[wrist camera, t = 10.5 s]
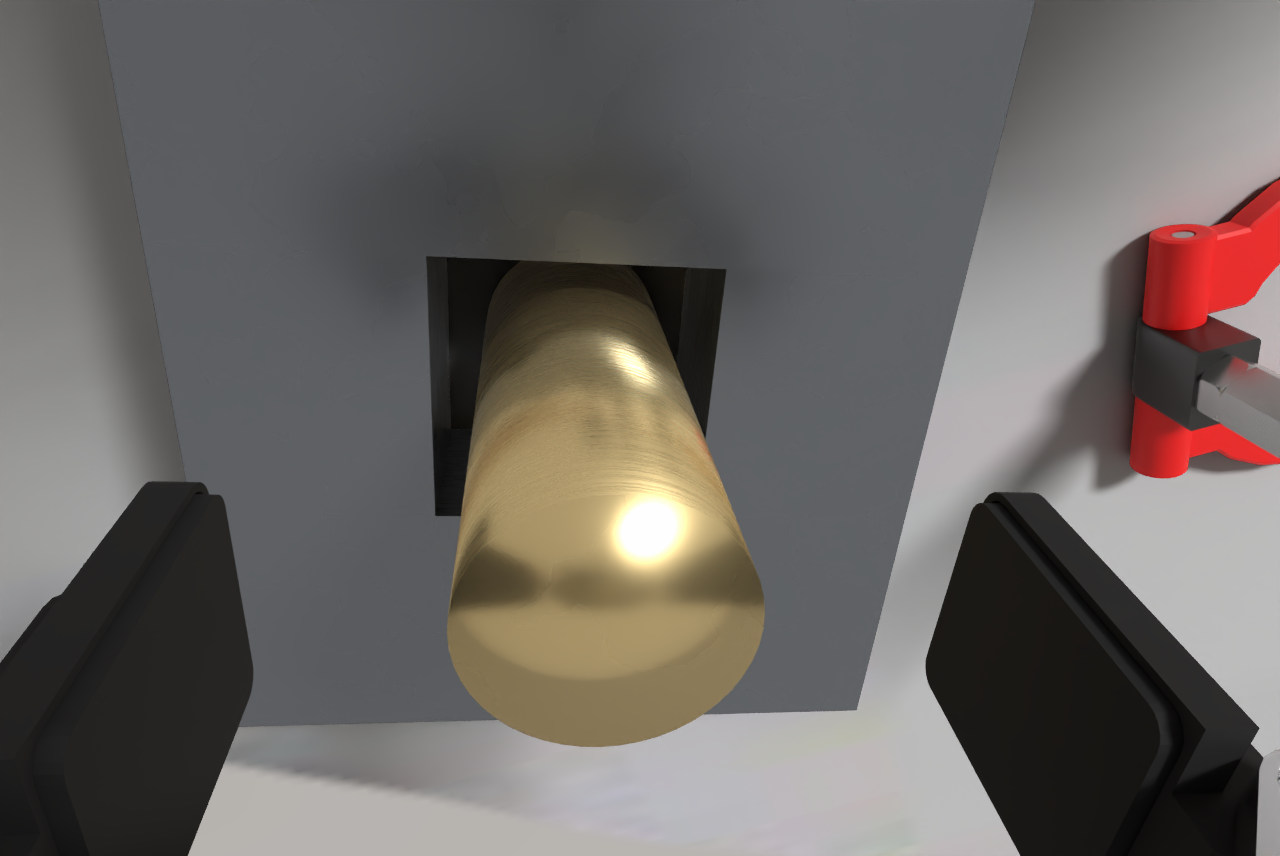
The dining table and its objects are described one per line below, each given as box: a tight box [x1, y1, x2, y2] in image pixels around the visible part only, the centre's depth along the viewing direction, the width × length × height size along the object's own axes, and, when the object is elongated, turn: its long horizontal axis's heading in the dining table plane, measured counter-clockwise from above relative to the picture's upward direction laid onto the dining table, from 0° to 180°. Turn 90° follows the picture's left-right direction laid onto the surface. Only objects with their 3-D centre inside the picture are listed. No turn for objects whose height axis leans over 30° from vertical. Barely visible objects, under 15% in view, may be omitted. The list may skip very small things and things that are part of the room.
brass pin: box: [447, 260, 765, 747], centre depth 16 cm, size 4×4×11 cm
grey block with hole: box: [98, 0, 1035, 727], centre depth 18 cm, size 21×15×4 cm
